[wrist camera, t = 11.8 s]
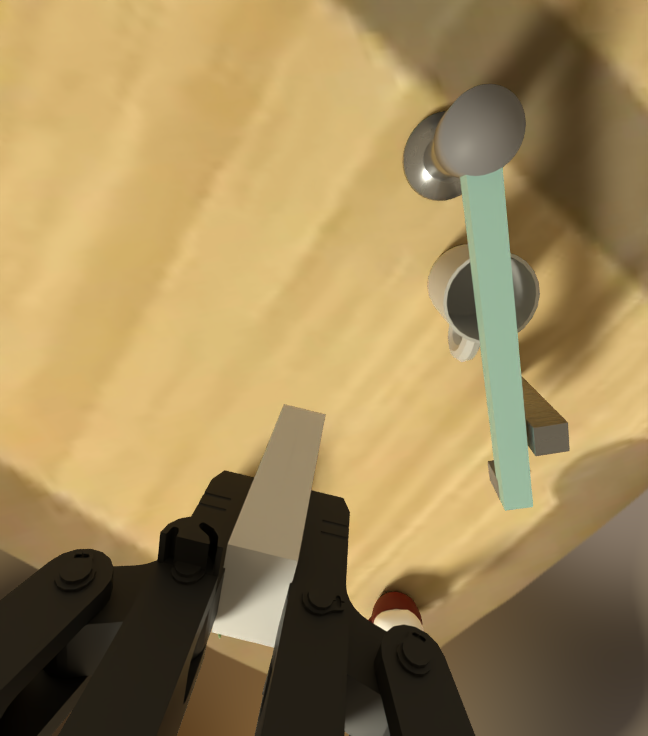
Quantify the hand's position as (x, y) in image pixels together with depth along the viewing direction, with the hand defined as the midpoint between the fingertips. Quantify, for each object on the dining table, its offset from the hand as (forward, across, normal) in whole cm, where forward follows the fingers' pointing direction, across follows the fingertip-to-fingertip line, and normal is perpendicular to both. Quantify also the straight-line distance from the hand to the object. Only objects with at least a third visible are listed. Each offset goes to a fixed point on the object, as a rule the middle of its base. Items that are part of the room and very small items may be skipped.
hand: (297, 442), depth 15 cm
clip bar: (+21, +12, +2) cm, 24 cm away
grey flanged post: (+30, +6, +13) cm, 33 cm away
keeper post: (+29, +18, -5) cm, 35 cm away
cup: (+30, +12, +2) cm, 32 cm away
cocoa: (+29, +17, -38) cm, 50 cm away
